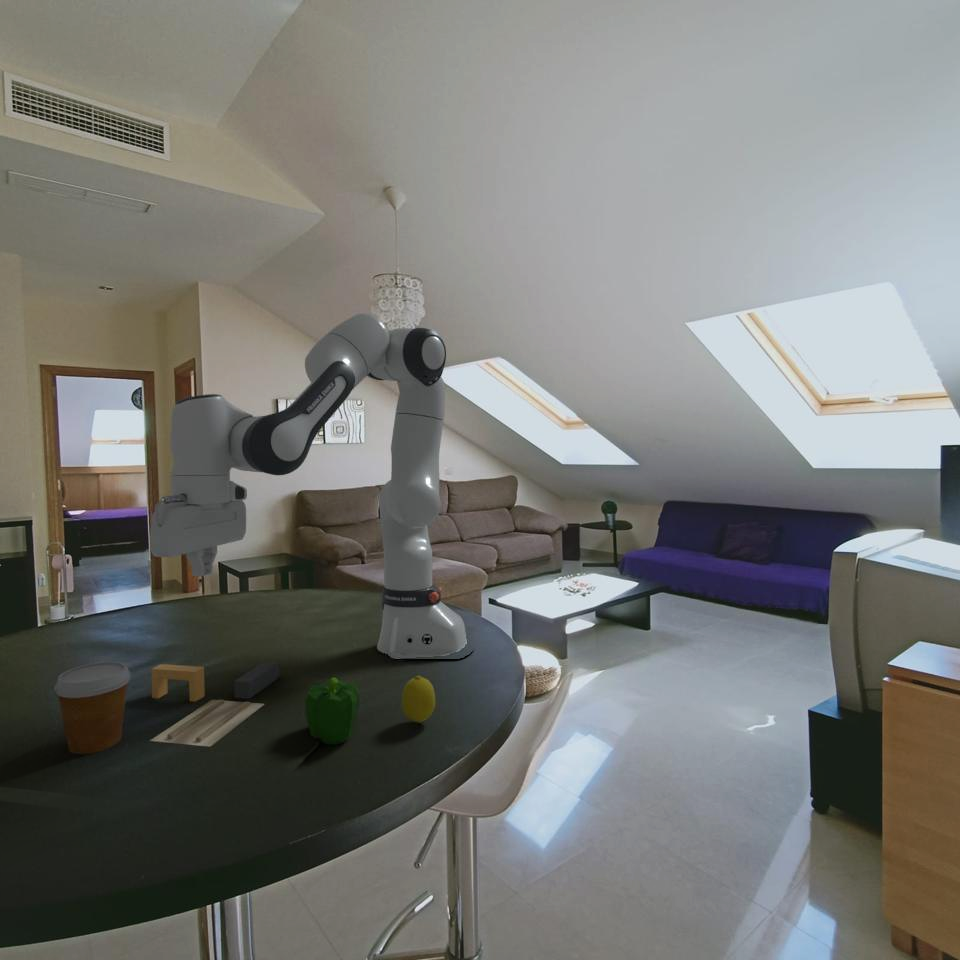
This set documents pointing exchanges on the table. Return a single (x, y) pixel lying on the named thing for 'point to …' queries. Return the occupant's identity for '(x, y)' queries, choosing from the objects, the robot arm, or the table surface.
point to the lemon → (418, 699)
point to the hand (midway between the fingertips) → (202, 575)
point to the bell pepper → (332, 711)
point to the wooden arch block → (178, 673)
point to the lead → (256, 680)
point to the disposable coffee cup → (93, 705)
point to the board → (208, 723)
